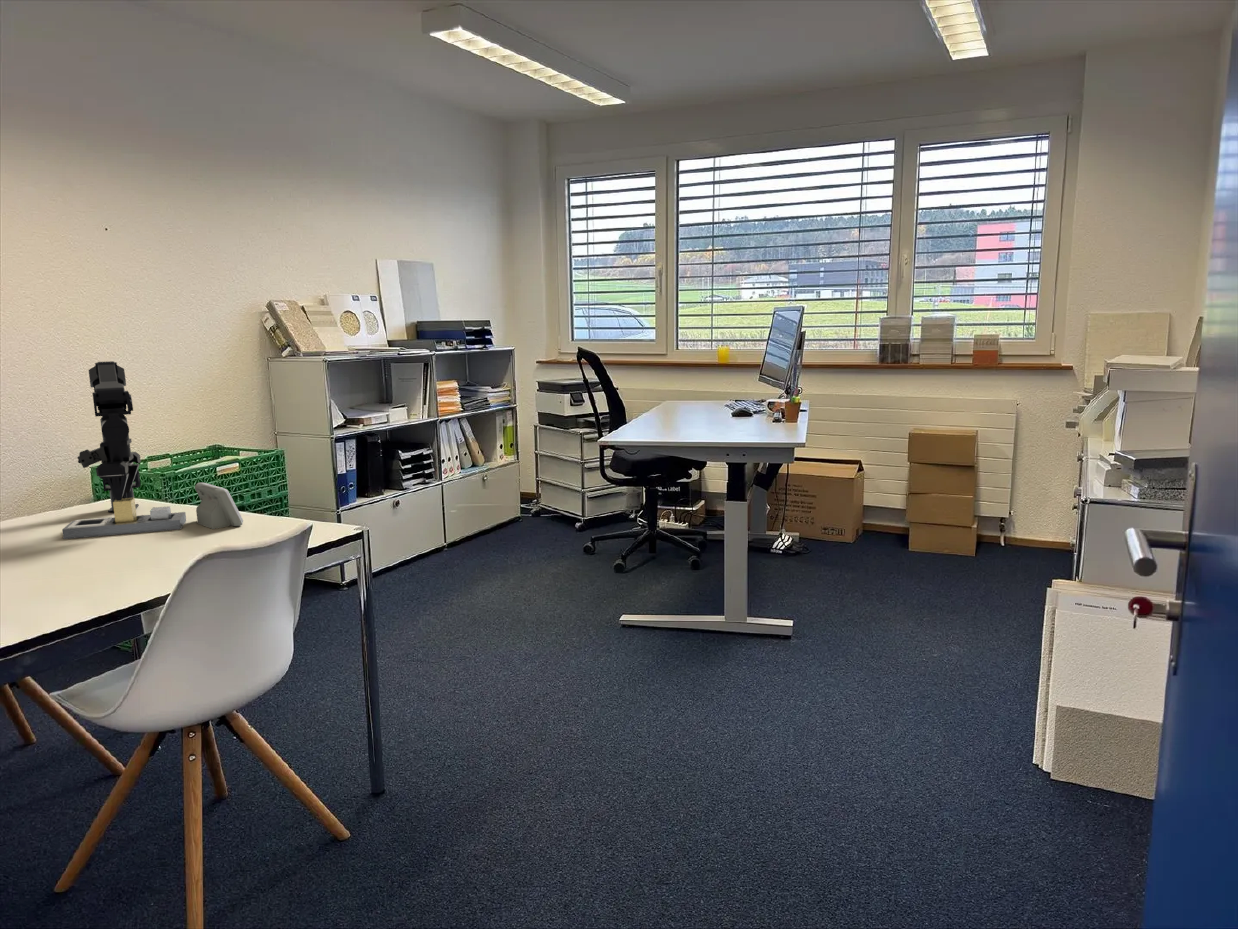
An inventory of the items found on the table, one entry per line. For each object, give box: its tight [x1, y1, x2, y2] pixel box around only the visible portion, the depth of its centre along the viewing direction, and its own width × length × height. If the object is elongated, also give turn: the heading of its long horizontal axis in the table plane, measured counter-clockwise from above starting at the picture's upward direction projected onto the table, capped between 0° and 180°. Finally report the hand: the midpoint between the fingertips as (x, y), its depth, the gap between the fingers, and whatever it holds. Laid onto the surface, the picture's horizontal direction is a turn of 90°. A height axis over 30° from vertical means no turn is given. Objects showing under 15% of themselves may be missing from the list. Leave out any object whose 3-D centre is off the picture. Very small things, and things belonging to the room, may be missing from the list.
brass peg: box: [113, 497, 138, 524], centre depth 208 cm, size 4×4×8 cm
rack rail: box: [62, 511, 187, 540], centre depth 208 cm, size 9×26×3 cm, turn 110°
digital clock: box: [194, 482, 244, 530], centre depth 213 cm, size 16×9×11 cm, turn 39°
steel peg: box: [149, 505, 172, 521], centre depth 211 cm, size 4×4×5 cm
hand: (123, 496), depth 207 cm, fingers open, 9 cm apart
